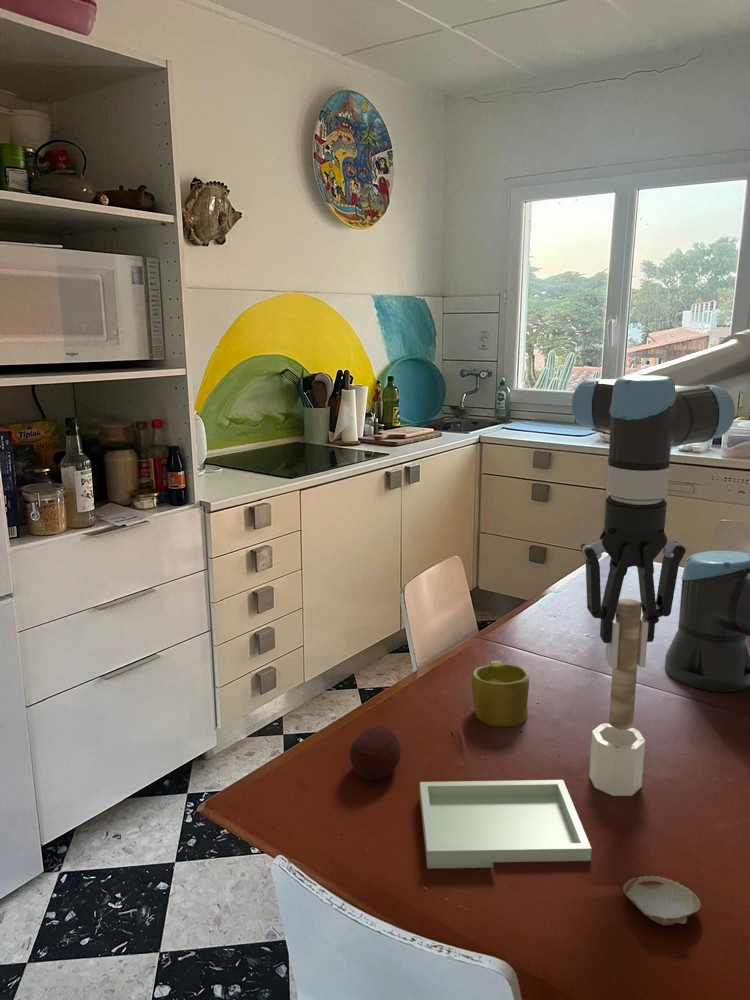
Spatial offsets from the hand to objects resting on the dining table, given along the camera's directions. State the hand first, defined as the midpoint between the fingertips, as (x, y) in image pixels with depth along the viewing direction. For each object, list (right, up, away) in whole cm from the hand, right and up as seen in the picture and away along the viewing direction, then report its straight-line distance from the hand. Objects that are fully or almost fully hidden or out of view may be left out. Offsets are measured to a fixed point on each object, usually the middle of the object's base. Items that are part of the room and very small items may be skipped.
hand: (625, 662), depth 105 cm
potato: (-34, -18, +9) cm, 40 cm away
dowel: (0, -9, +2) cm, 9 cm away
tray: (-18, -21, -4) cm, 28 cm away
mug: (-13, -14, +25) cm, 31 cm away
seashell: (-2, -25, -18) cm, 30 cm away
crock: (0, -19, +5) cm, 19 cm away
